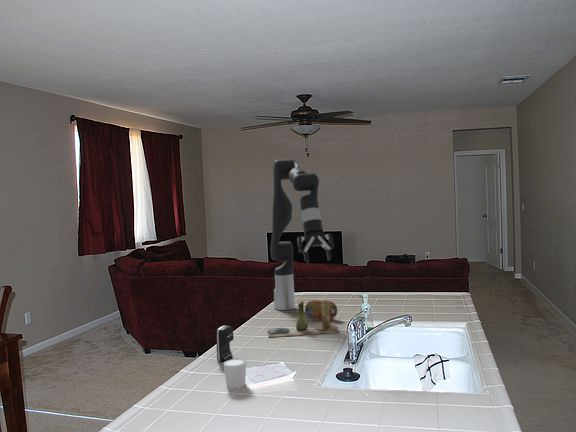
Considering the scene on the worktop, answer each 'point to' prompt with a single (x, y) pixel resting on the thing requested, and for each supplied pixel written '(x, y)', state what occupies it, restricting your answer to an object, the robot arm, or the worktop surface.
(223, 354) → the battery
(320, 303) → the tin
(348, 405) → the worktop surface
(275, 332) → the brown long irregular piece
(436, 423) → the worktop surface
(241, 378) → the white cup
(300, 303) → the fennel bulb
